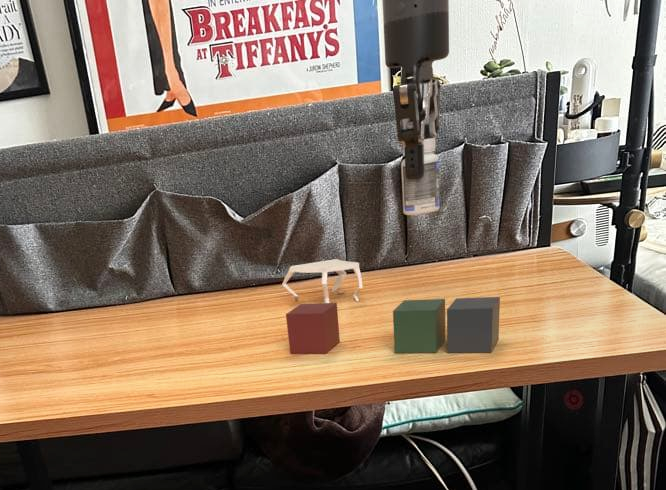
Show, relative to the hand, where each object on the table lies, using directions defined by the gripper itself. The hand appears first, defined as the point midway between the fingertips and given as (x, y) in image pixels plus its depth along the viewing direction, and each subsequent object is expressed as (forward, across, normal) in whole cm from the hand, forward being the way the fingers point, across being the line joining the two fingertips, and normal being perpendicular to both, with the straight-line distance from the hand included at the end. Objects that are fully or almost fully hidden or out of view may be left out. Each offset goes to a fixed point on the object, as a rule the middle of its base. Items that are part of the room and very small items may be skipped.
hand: (420, 175), depth 93 cm
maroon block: (+14, -27, +6) cm, 31 cm away
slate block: (+14, -27, -12) cm, 33 cm away
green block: (+14, -27, -6) cm, 31 cm away
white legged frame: (+14, -4, +13) cm, 20 cm away
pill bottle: (+5, 0, 0) cm, 5 cm away
